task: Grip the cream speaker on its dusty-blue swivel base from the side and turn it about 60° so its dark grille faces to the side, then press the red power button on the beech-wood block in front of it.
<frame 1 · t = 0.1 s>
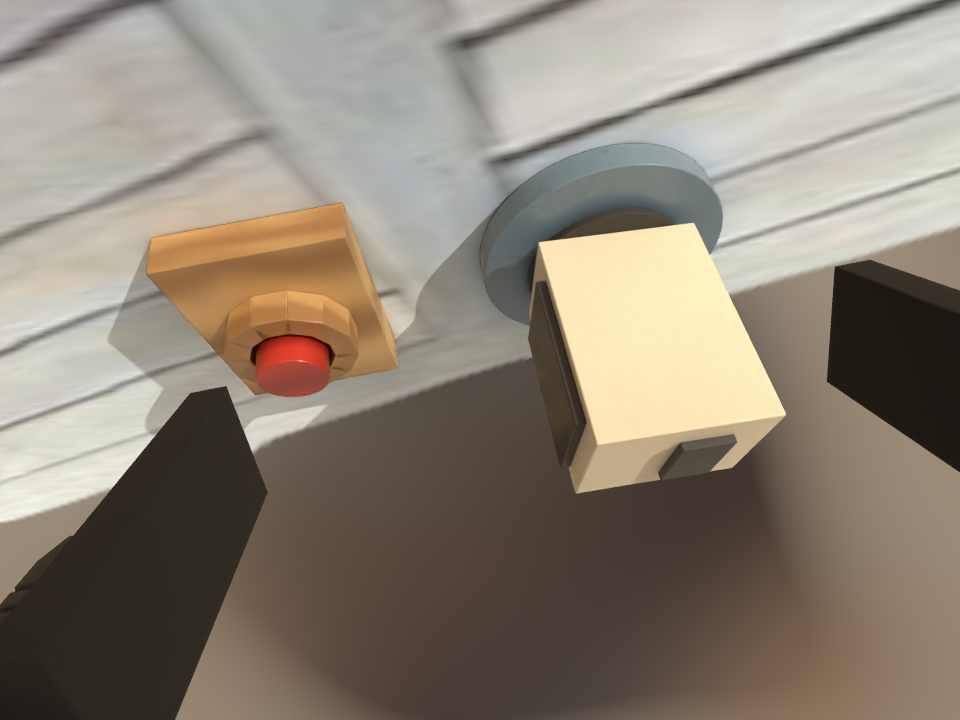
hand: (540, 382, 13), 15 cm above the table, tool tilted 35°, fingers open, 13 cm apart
swivel base: (594, 240, 33), on the table
button block: (292, 296, 33), on the table
button: (293, 365, 30), point 4 cm above the table, slide at 0.1 cm
speaker: (632, 355, 29), point 8 cm above the table, hinge at 0.0°
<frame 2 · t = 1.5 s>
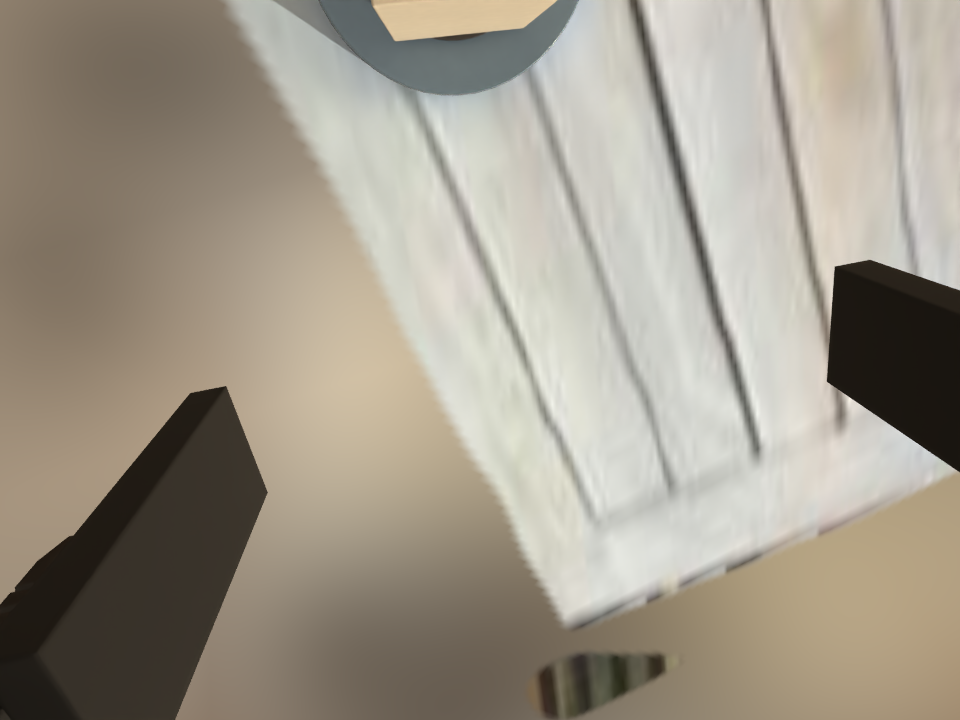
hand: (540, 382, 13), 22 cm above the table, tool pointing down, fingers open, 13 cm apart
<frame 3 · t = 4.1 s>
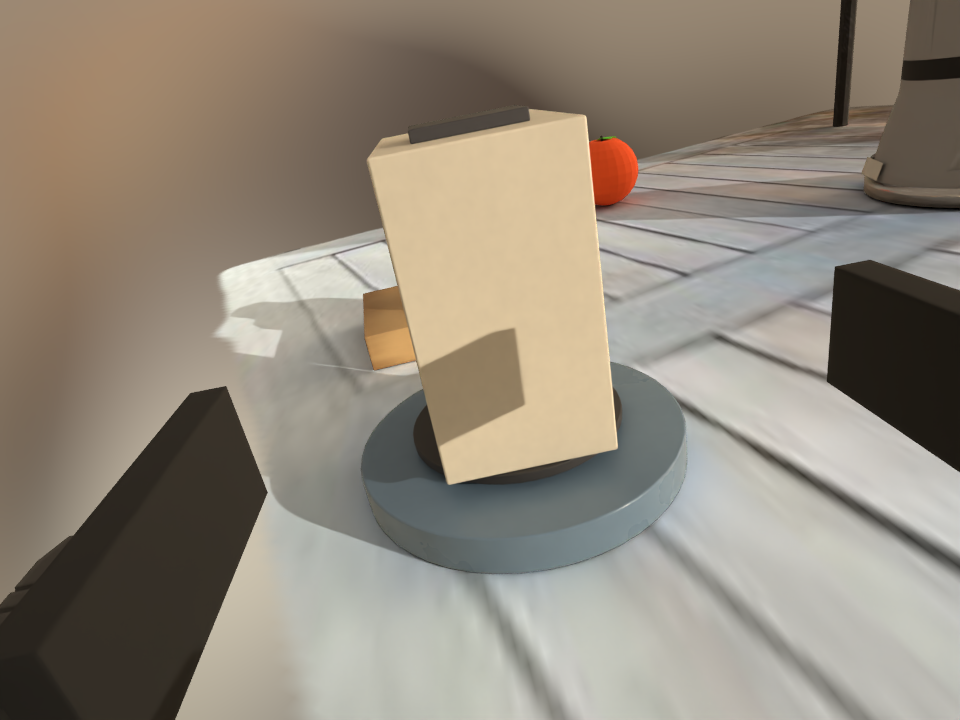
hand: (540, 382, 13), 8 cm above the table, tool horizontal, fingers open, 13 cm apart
swivel base: (522, 456, 25), on the table
button block: (459, 322, 40), on the table
solar garden light: (840, 126, 83), on the table
speaker: (491, 283, 22), point 8 cm above the table, hinge at 0.0°
clementine: (609, 205, 65), on the table
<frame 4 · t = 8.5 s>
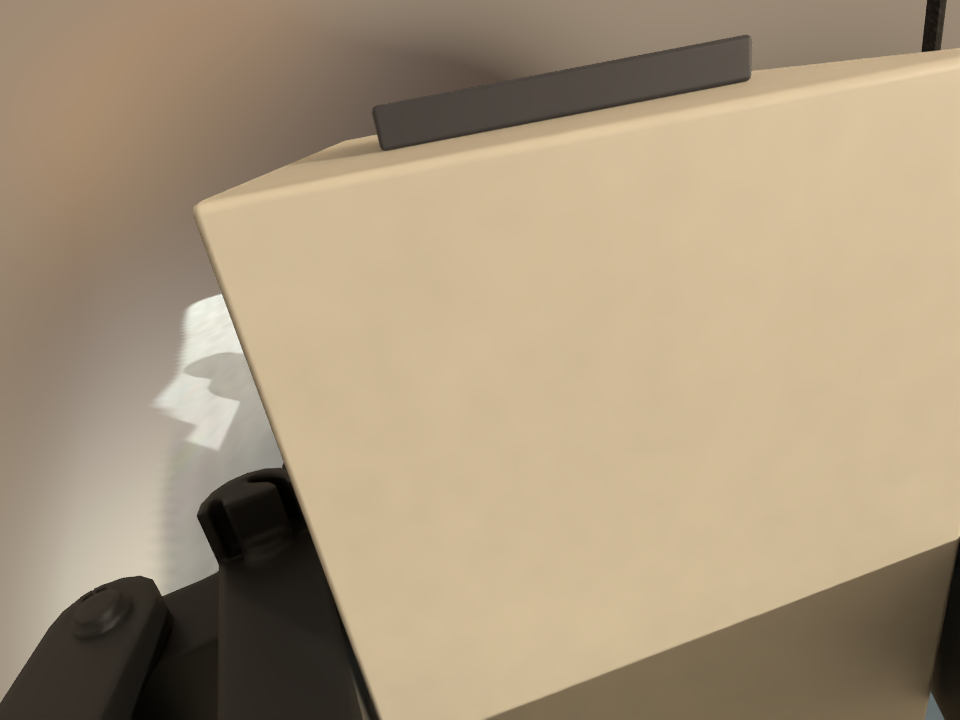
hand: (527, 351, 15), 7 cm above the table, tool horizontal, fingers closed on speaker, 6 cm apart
solar garden light: (920, 136, 71), on the table
speaker: (573, 457, 10), point 8 cm above the table, hinge at 0.0°, touching gripper
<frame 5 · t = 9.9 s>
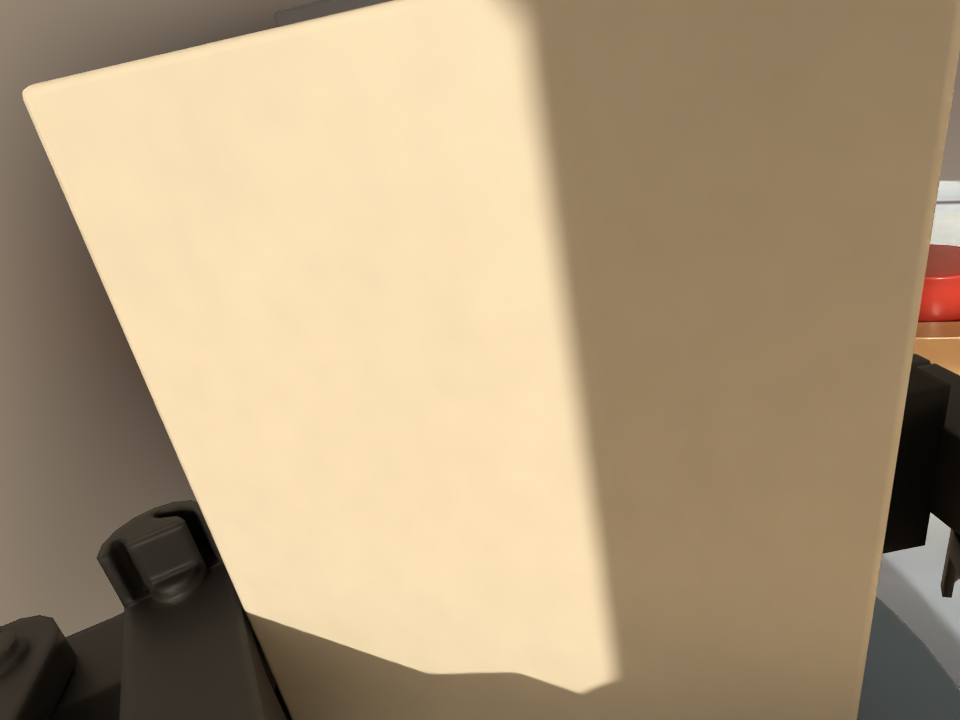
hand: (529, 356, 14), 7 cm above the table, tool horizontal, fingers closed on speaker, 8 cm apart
button block: (901, 402, 21), on the table
button: (919, 284, 20), point 4 cm above the table, slide at 0.1 cm
speaker: (563, 421, 9), point 8 cm above the table, hinge at 39.9°, touching gripper
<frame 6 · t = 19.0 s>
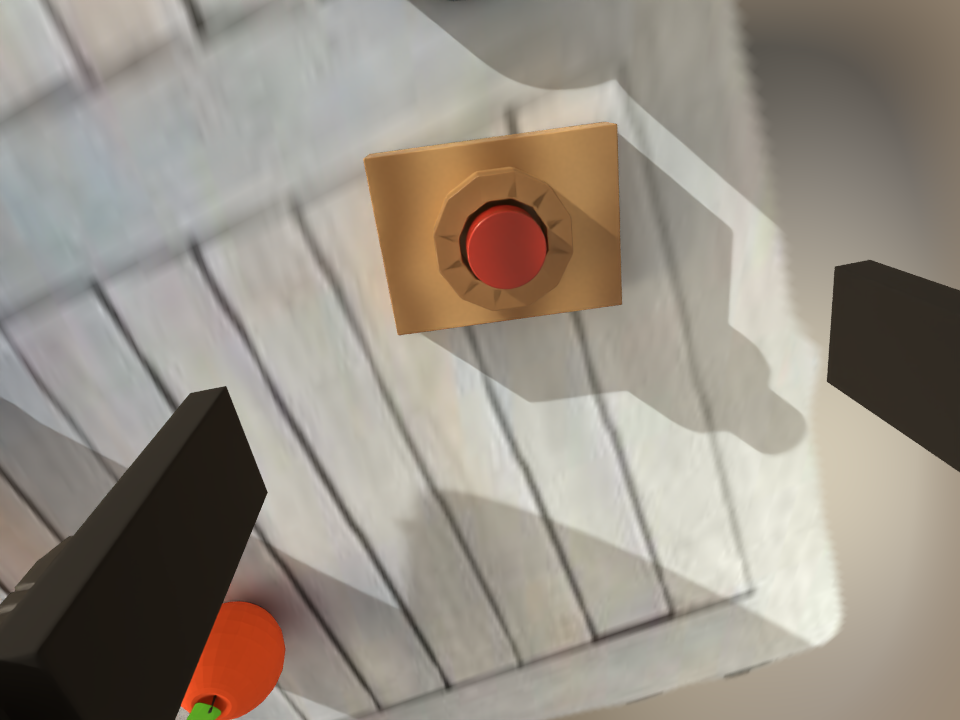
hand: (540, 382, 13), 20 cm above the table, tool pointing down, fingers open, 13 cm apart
button block: (497, 227, 32), on the table
button: (505, 247, 27), point 4 cm above the table, slide at 0.1 cm
clementine: (242, 618, 42), on the table
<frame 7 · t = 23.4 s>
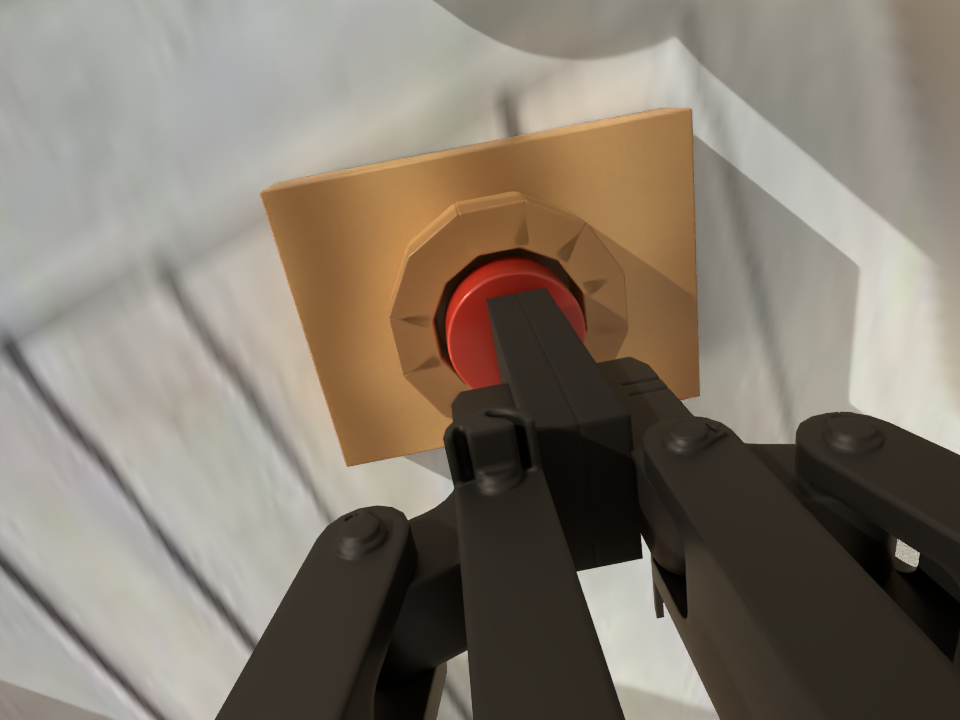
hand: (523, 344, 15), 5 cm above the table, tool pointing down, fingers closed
button block: (494, 285, 20), on the table
button: (512, 328, 16), point 4 cm above the table, slide at -0.1 cm, touching gripper
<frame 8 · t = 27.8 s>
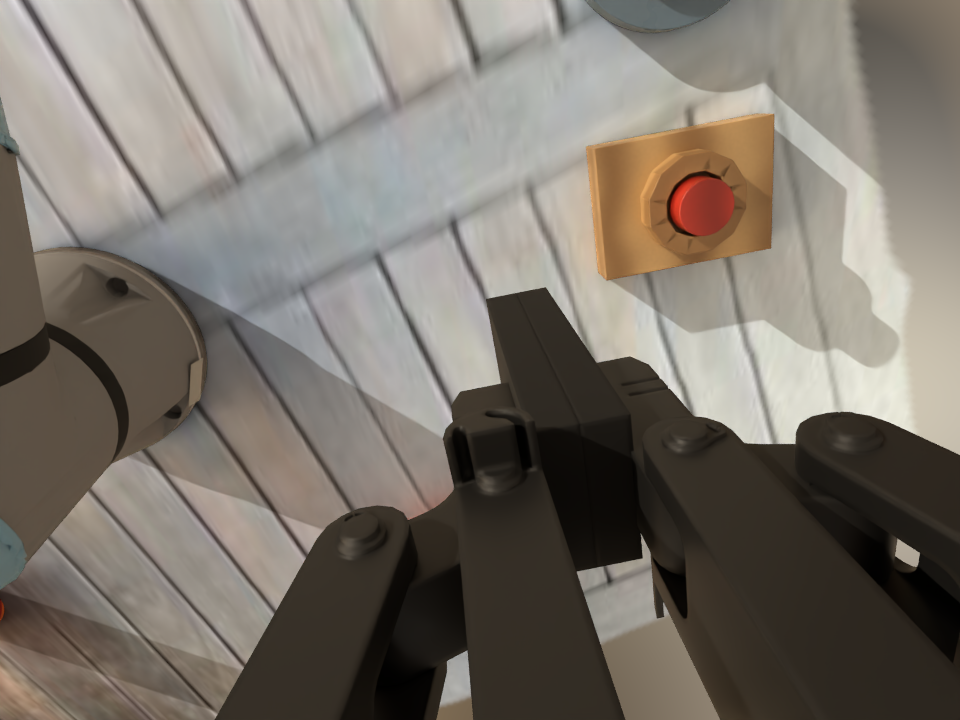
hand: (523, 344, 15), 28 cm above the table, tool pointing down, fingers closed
button block: (674, 196, 42), on the table
button: (701, 205, 38), point 4 cm above the table, slide at 0.1 cm
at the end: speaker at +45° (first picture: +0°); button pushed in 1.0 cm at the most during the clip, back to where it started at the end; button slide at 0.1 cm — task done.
